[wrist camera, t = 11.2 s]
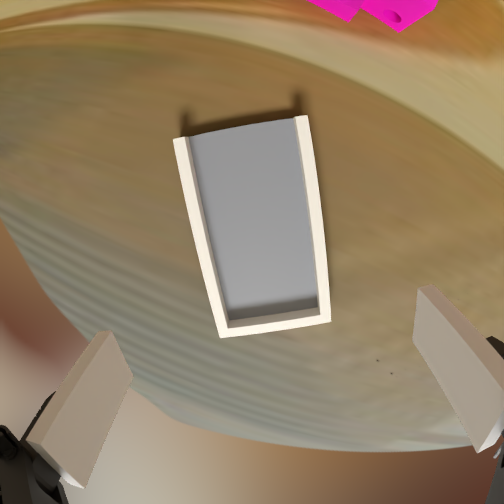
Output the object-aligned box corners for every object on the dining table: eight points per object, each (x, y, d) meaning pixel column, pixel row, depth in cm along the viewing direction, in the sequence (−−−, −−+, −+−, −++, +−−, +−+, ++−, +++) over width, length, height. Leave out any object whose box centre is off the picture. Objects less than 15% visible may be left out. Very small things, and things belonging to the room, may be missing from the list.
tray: (180, 139, 26) (172, 139, 23) (302, 117, 25) (307, 115, 22) (222, 324, 32) (220, 338, 30) (326, 308, 31) (331, 321, 29)
